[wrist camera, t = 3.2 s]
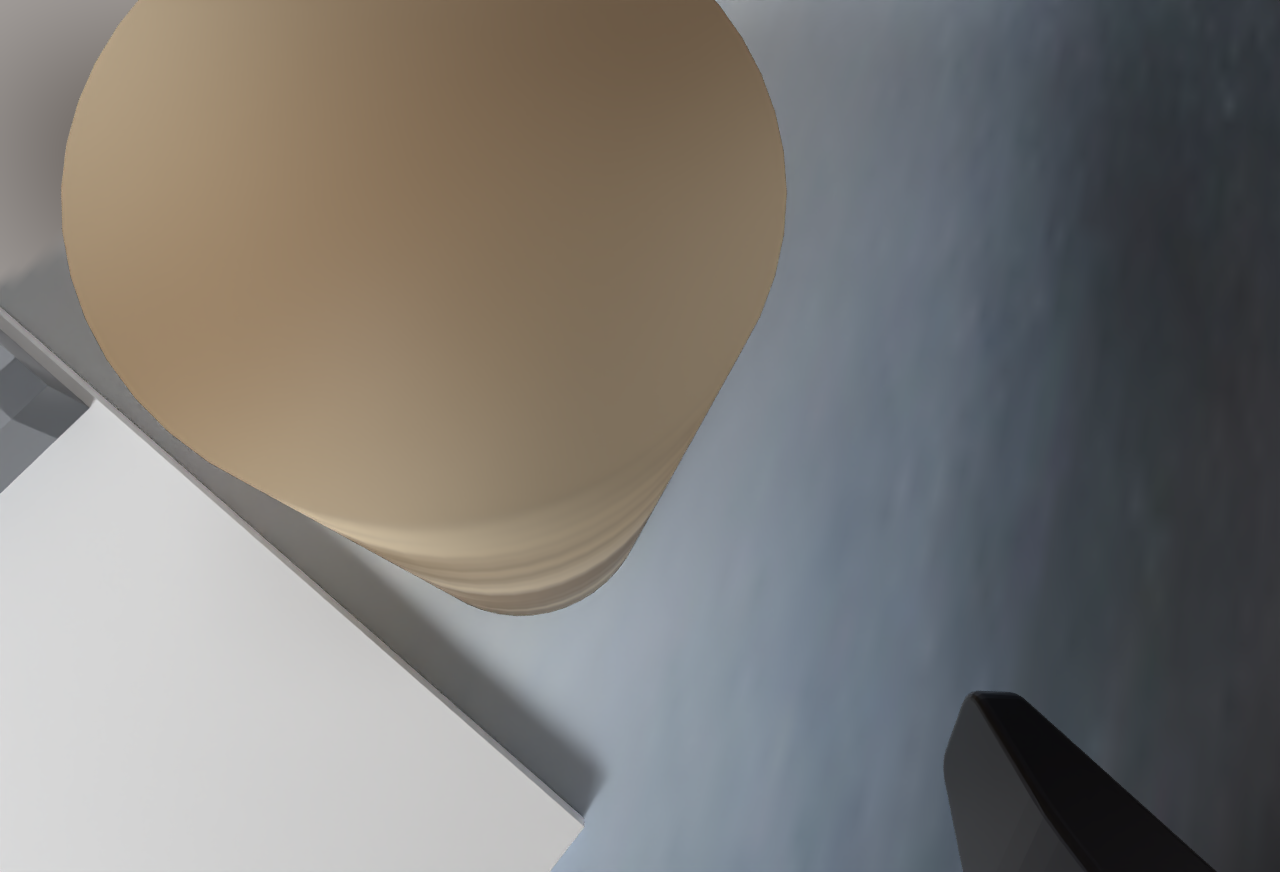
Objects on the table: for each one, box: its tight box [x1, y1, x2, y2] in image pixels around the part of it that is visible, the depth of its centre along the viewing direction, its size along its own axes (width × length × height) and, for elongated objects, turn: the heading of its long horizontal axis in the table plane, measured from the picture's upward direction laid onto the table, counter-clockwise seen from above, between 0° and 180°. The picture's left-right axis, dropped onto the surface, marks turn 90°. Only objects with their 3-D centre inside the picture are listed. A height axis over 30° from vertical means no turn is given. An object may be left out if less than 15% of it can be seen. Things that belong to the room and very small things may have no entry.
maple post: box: [61, 0, 787, 616], centre depth 13 cm, size 5×5×13 cm
